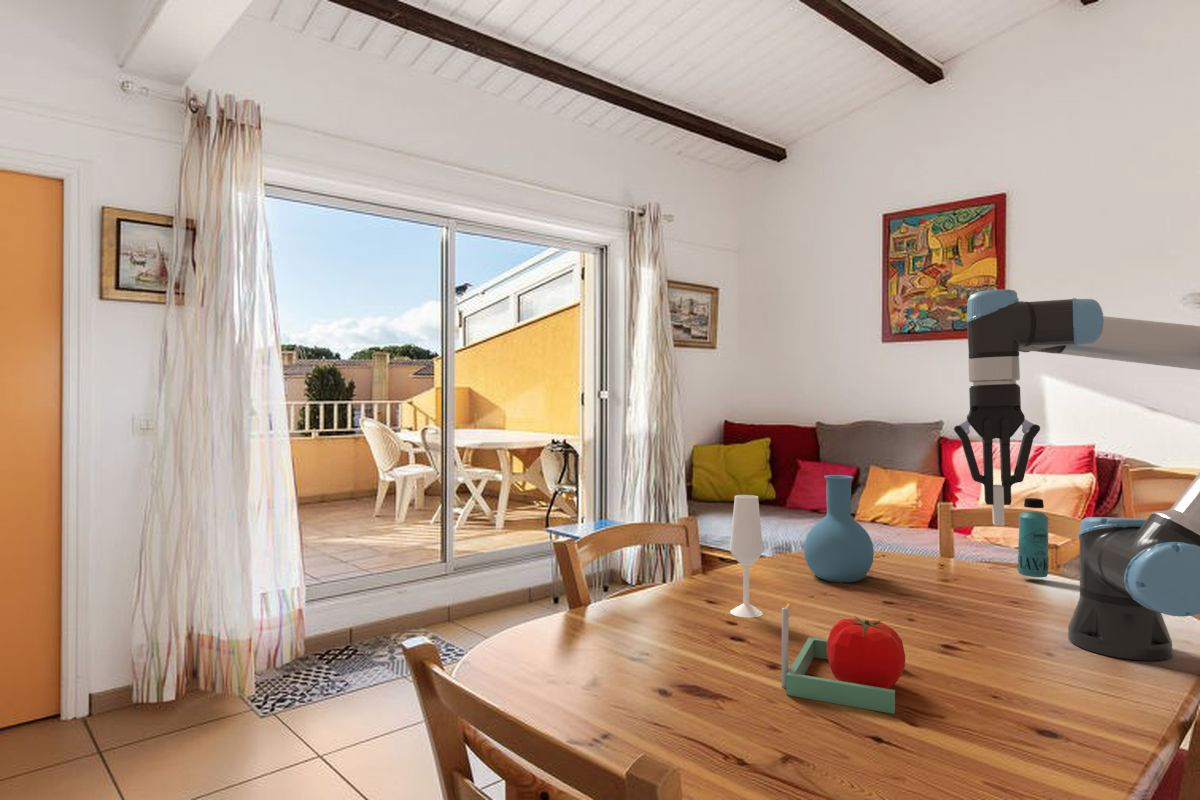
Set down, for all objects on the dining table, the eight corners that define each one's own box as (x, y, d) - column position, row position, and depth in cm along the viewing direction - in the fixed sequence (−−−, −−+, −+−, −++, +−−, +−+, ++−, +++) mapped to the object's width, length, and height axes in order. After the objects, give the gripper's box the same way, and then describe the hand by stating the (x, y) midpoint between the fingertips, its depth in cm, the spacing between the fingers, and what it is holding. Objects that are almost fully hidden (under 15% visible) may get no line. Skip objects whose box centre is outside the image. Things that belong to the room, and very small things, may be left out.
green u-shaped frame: (902, 668, 119) (903, 595, 119) (894, 713, 102) (894, 628, 102) (801, 653, 126) (801, 584, 126) (777, 693, 109) (777, 613, 109)
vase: (880, 575, 182) (880, 475, 182) (866, 589, 168) (866, 481, 168) (814, 567, 191) (814, 471, 191) (795, 580, 177) (795, 477, 177)
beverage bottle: (1011, 578, 179) (1011, 497, 179) (1032, 576, 181) (1032, 496, 181) (1034, 584, 173) (1034, 500, 173) (1055, 582, 175) (1055, 499, 175)
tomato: (809, 679, 115) (809, 614, 115) (860, 667, 120) (860, 604, 120) (869, 708, 104) (869, 636, 104) (923, 692, 110) (923, 624, 110)
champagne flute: (728, 616, 148) (728, 498, 148) (730, 607, 154) (730, 493, 154) (762, 618, 146) (762, 499, 146) (763, 609, 153) (763, 494, 153)
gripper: (1035, 382, 123) (1039, 522, 123) (949, 385, 128) (954, 519, 128) (1043, 381, 116) (1047, 529, 116) (952, 384, 121) (956, 526, 121)
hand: (998, 524), depth 122 cm, fingers closed
